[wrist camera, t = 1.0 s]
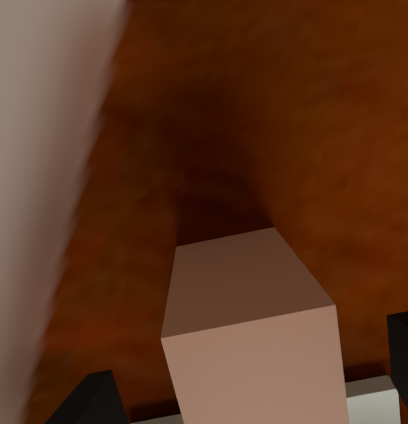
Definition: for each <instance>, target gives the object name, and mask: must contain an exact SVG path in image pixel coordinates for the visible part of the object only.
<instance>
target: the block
mask: <svg viewBox="0 0 408 424" xmlns="http://www.w3.org/2000/svg"><path fill="white" fill-rule="evenodd" d="M161 341H162V345H163V349H164V352H165V356H166V360H167V363H168V367H169V371H170V374H171V378H172V382H173V385H174V389H175V393H176V396H177V400H178V404H179V407H180V411H181V415H182V418H183V422H184V424H349V416H348V407H347V398H346V390H345V381H344V373H343V364H342V356H341V347H340V338H339V330H338V321H337V313H336V305H335V303H334V302H333V301H332V300H331V298H330V297H329V296H328V295H327V293H326V292H325V291H324V289H323V288H322V287H321V286H320V284H319V283H318V282H317V281H316V279H315V278H314V277H313V276H312V274H311V273H310V272H309V270H308V269H307V268H306V267H305V265H304V264H303V263H302V262H301V260H300V259H299V258H298V257H297V255H296V254H295V253H294V251H293V250H292V249H291V248H290V246H289V245H288V244H287V243H286V241H285V240H284V239H283V238H282V236H281V235H280V234H279V232H278V231H277V230H276V229H275V227H272V228H267V229H262V230H257V231H252V232H247V233H242V234H237V235H232V236H227V237H222V238H217V239H212V240H207V241H203V242H198V243H193V244H188V245H183V246H178V247H176V252H175V258H174V264H173V270H172V276H171V281H170V287H169V293H168V299H167V305H166V311H165V317H164V323H163V328H162V334H161Z"/></svg>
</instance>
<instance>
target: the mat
mask: <svg viewBox="0 0 408 424" xmlns="http://www.w3.org/2000/svg"><path fill="white" fill-rule="evenodd" d="M345 390H346V398H347V407H348V416H349V424H400V410H399V396H398V391H397V390H396V388H395V386H394V385H393V383H392V380H391V379H390V378H389V376H388V375H385V376H379V377H374V378H369V379H363V380H358V381H353V382H347V383H345ZM130 424H184V422H183V418H182V415H181V414H177V415H172V416H167V417H162V418H156V419H151V420H146V421H140V422H135V423H130Z"/></svg>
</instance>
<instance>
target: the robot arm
mask: <svg viewBox="0 0 408 424" xmlns="http://www.w3.org/2000/svg"><path fill="white" fill-rule="evenodd" d="M387 325H388V339H389V352H390V365H391V379H392V383H393V385H394V386H395V388H396V390H397V391H398V393H399V395H400V396H401V398H402V400H403V401H404V403H405V405H406V406H407V408H408V311H406V312H401V313H396V314H391V315H387ZM45 424H129V423H128V420H127V417H126V414H125V411H124V408H123V404H122V401H121V398H120V395H119V392H118V389H117V386H116V383H115V380H114V377H113V374H112V371H111V370H107V371H102V372H96V373H91V374H88V375H87V376H86V377H85V378H84V379H83V380H82V381H81V383H80V384H79V385H78V386H77V387H76V388H75V389H74V390H73V392H72V393H71V394H70V395H69V396H68V397H67V398H66V400H65V401H64V402H63V403H62V404H61V405H60V407H59V408H58V409H57V410H56V411H55V412H54V414H53V415H52V416H51V417H50V418H49V419H48V420H47V422H46V423H45Z"/></svg>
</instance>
